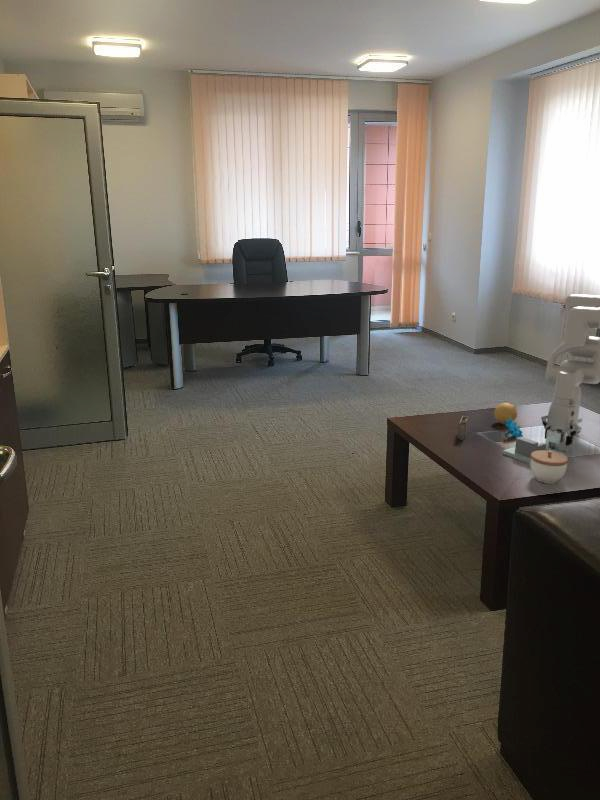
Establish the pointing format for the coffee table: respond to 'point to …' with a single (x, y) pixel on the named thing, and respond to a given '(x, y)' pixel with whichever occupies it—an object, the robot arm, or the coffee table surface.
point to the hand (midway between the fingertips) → (557, 441)
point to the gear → (513, 429)
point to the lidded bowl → (548, 465)
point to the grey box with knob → (556, 439)
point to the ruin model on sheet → (463, 427)
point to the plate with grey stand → (526, 449)
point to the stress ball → (505, 412)
